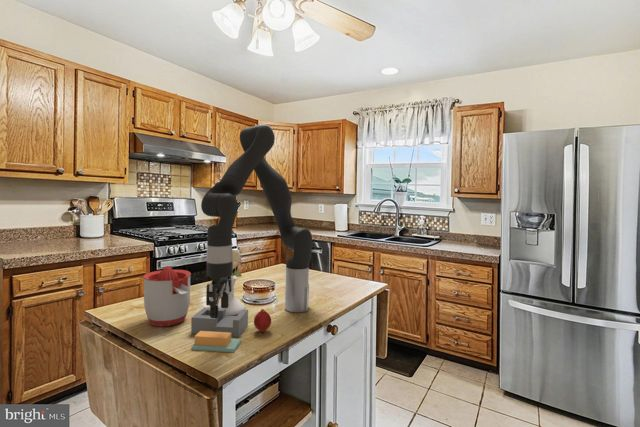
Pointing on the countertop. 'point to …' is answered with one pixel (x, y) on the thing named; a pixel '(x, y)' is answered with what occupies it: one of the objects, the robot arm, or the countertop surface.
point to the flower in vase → (234, 303)
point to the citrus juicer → (166, 296)
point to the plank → (213, 338)
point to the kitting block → (219, 322)
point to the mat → (230, 348)
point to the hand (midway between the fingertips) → (219, 312)
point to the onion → (262, 320)
